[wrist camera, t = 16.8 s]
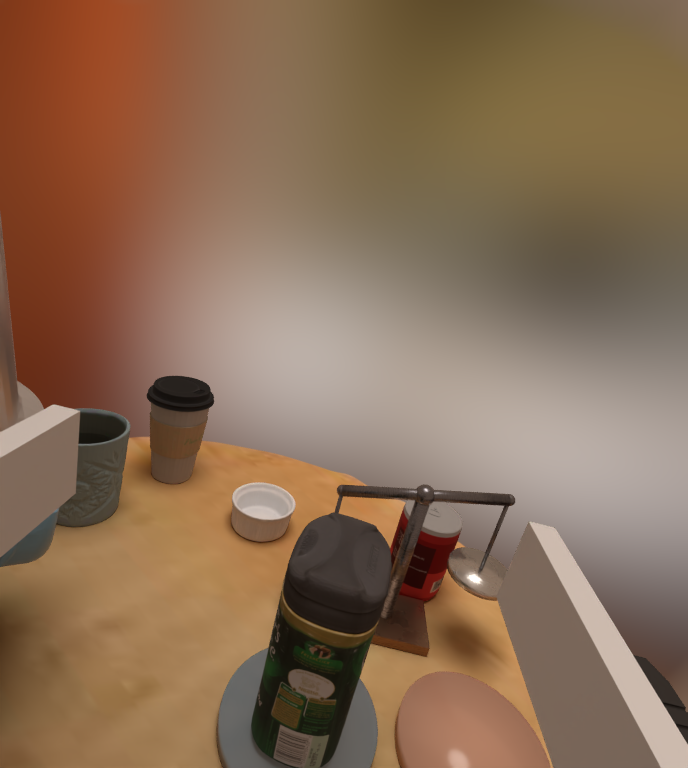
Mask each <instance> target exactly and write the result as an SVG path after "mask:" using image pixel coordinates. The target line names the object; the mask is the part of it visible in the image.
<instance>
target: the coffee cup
mask: <svg viewBox="0 0 688 768" xmlns="http://www.w3.org/2000/svg"><path fill="white" fill-rule="evenodd" d="M147 398H148V400H149V401H150V402H151V412H150V448H151V460H152V476H153V477H154V478H155V479H156V480H158V481H160V482H163V483H168V484H178V483H182V482H184V481H186V480H188V479H189V478H190V476H191V474H192V471H193V467H194V463H195V460H196V456H197V452H198V451H199V449H200V445H201V441H202V437H203V434H204V430H205V426H206V423H207V418H208V416H207V415H208V411H209V408H210V407H211V406H212V405H213V404H214V396H213V394H212V393H211V392H210V387H209V385H207V384H206V383H205V382H203V381H200V380H198V379H194V378H190V377H184V376H166V377H162V378H159V379H157V380H156V381H155V382H154V385H153V386H151V387H150V388H149V390H148V393H147Z"/></svg>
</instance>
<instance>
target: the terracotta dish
mask: <svg viewBox="0 0 688 768" xmlns="http://www.w3.org/2000/svg"><path fill="white" fill-rule="evenodd" d="M395 745H396V751H397V756H398V760H399V763H400V766H401V768H550V764H549V761H548V758H547V756H546V753H545V750H544V748H543V746H542V744H541V742H540V740H539V739H538V737H537V735H536V733H535V732H534V730H533V729H532V727H531V726H530V724H529V723H528V722H527V720H526V719H525V718H524V717H523V715H522V714H521V713H520V712H519V711H518V710H517V709H516V708H515V707H514V705H513V704H512V703H510V702H509V701H508V700H507V699H506V698H505V697H504V696H503V695H501V694H500V693H499V692H497V691H496V690H495V689H493V688H491V687H490V686H488V685H487V684H485V683H483V682H481V681H479V680H477V679H475V678H472V677H470V676H467V675H464V674H460V673H455V672H435V673H431V674H428V675H425V676H423V677H421V678H420V679H418V680H417V681H415V682H414V683H413V684H412V685H411V686H410V688H409V689H408V691H407V692H406V694H405V696H404V698H403V700H402V703H401V706H400V708H399V711H398V714H397V718H396V724H395Z"/></svg>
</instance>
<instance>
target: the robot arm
mask: <svg viewBox="0 0 688 768" xmlns="http://www.w3.org/2000/svg"><path fill="white" fill-rule="evenodd" d="M79 424H80V411H78V410H74V409H70V408H66V407H62V406H58V405H52V406H50V407H48V408H46V409H44V408H43V406H42V404H41V402H40V401H39V399H38V398H37V397H36V396H35V395H34V393H32V392H31V391H30V390H29V389H28V388H27V387H25V386H24V385H22V384H21V383H20V382H18V381H17V376H16V366H15V357H14V346H13V336H12V326H11V316H10V307H9V296H8V286H7V276H6V266H5V256H4V247H3V236H2V227H1V216H0V567H3V566H9V565H17V564H24V563H29V562H32V561H35V560H37V559H38V558H40V557H41V556H43V555H44V554H45V553H46V551H47V550H48V549H49V547H50V545H51V542H52V539H53V535H54V531H55V527H56V523H57V518H58V512H59V507H60V506H61V505H63V504H64V503H65V502H66V501H67V500H68V499H70V498H71V497H72V496H73V495H74V494H76V478H77V460H78V442H79ZM496 597H497V600H498V603H499V606H500V609H501V612H502V615H503V618H504V621H505V624H506V627H507V630H508V633H509V636H510V639H511V642H512V645H513V648H514V651H515V654H516V657H517V660H518V663H519V666H520V669H521V672H522V675H523V678H524V681H525V684H526V687H527V690H528V693H529V696H530V698H531V701H532V704H533V707H534V710H535V713H536V716H537V719H538V722H539V725H540V728H541V731H542V734H543V737H544V740H545V743H546V746H547V749H548V752H549V755H550V758H551V761H552V764H553V767H554V768H688V712H686V711H685V708H686V707H685V706H684V704H683V703H682V701H681V700H680V698H679V697H678V695H677V694H676V692H675V691H674V689H673V688H672V686H671V685H670V683H669V682H668V681H667V680H666V679H665V678H664V677H663V676H662V675H661V674H660V672H658V671H657V669H656V668H655V667H654V666H653V665H652V664H651V663H650V662H649V661H648V660H647V659H646V658H643V657H639V656H635V655H633V654H632V653H631V651H630V650H629V648H628V647H627V645H626V643H625V641H624V640H623V638H622V637H621V635H620V633H619V632H618V630H617V628H616V627H615V625H614V624H613V622H612V620H611V619H610V617H609V615H608V614H607V612H606V611H605V609H604V607H603V606H602V604H601V603H600V601H599V599H598V597H597V596H596V594H595V593H594V591H593V589H592V588H591V586H590V584H589V583H588V581H587V580H586V578H585V576H584V575H583V573H582V572H581V570H580V568H579V567H578V565H577V563H576V562H575V560H574V558H573V557H572V555H571V554H570V552H569V551H568V549H567V547H566V546H565V544H564V542H563V540H562V539H561V537H560V536H559V534H558V533H557V531H556V529H555V528H553V527H549V526H545V525H541V524H537V523H533V522H528V525H527V527H526V529H525V531H524V534H523V536H522V538H521V541H520V543H519V545H518V547H517V550H516V553H515V554H514V557H513V559H512V562H511V564H510V566H509V568H508V571H507V573H506V575H505V578H504V580H503V582H502V584H501V587H500V589H499V591H498V594H497V596H496Z"/></svg>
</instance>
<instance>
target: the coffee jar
mask: <svg viewBox="0 0 688 768" xmlns="http://www.w3.org/2000/svg"><path fill="white" fill-rule="evenodd" d="M391 570H392V562H391V552H390V548H389V546H388V544H387V542H386V540H385V538H384V537H383V536H382V534H381V533H380V532H379V531H378V529H377V527H376V526H374V525H372V524H370V523H367V522H364V521H361V520H358V519H355V518H352V517H349V516H345V515H342V514H338V513H331V514H329V515H325V516H322V517H319V518H317V519H315V520H313V521H312V522H310V523H309V524H308V525H307V526H306V527H305V529H304V530H303V532H302V534H301V535H300V537H299V539H298V540H297V542H296V545H295V547H294V549H293V552H292V555H291V558H290V560H289V563H288V568H287V572H286V575H285V578H284V582H283V587H282V591H281V596H280V600H279V605H278V610H277V613H276V618H275V622H274V626H273V630H272V635H271V640H270V644H269V648H268V653H267V657H266V661H265V666H264V670H263V675H262V679H261V683H260V687H259V691H258V695H257V699H256V703H255V708H254V712H253V716H252V723H251V729H252V735H253V739H254V741H255V743H256V744H257V746H258V747H259V749H260V750H261V751H262V752H264V753H265V754H266V755H268V756H269V757H270V758H272V759H274V760H275V761H277V762H280V763H282V764H284V765H286V766H289V767H292V768H321V767H323V766H324V765H325V764H327V763H328V762H329V761H330V759H331V758H332V757H333V755H334V753H335V751H336V748H337V746H338V743H339V740H340V737H341V734H342V731H343V728H344V725H345V722H346V719H347V715H348V712H349V709H350V705H351V702H352V699H353V696H354V693H355V690H356V687H357V684H358V681H359V678H360V674H361V671H362V668H363V665H364V662H365V659H366V656H367V653H368V650H369V647H370V644H371V641H372V638H373V635H374V632H375V630H376V627H377V624H378V621H379V619H380V616H381V612H382V609H383V605H384V601H385V598H386V597H387V596H388V593H389V584H390V576H391Z"/></svg>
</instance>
